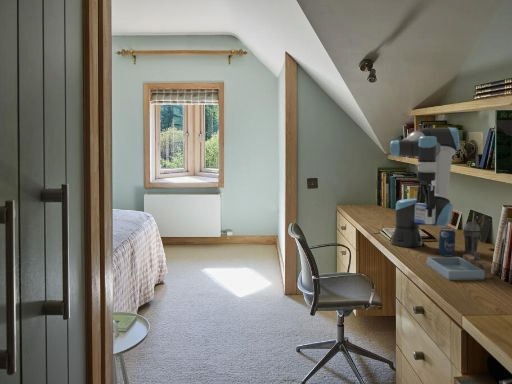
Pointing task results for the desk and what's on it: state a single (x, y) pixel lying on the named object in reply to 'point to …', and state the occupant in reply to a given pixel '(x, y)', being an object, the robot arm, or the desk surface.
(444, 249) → the soda can
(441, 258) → the tray
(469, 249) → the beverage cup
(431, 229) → the desk surface
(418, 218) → the medicine box
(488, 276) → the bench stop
